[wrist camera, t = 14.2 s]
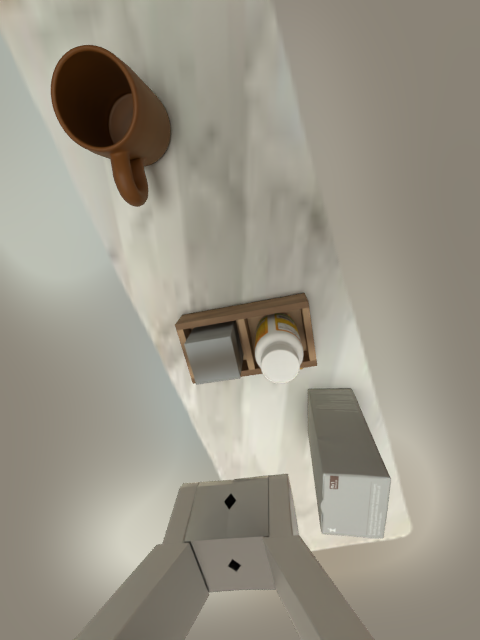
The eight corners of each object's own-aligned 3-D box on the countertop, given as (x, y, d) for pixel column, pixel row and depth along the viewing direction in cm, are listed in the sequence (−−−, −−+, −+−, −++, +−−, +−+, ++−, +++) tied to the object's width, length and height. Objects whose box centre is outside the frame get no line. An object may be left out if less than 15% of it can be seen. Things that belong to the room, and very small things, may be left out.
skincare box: (349, 433, 45) (392, 543, 30) (301, 433, 46) (320, 540, 31) (353, 384, 42) (402, 480, 27) (302, 385, 43) (322, 479, 28)
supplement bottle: (262, 353, 40) (262, 395, 31) (250, 318, 39) (246, 351, 30) (301, 343, 40) (312, 383, 30) (291, 306, 38) (299, 337, 29)
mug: (191, 199, 35) (167, 196, 26) (132, 214, 36) (90, 215, 27) (160, 78, 31) (120, 27, 22) (95, 99, 32) (32, 58, 23)
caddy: (182, 314, 40) (167, 334, 34) (304, 293, 38) (312, 309, 32) (199, 371, 43) (188, 398, 37) (313, 354, 41) (321, 380, 35)
